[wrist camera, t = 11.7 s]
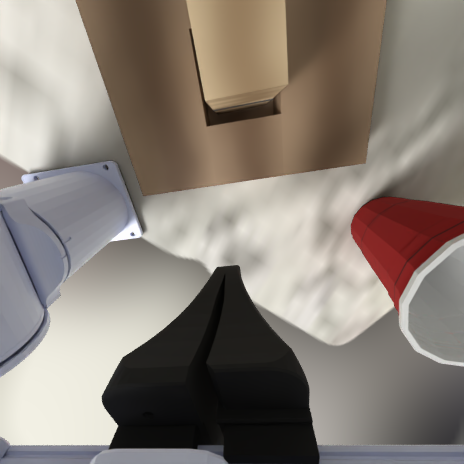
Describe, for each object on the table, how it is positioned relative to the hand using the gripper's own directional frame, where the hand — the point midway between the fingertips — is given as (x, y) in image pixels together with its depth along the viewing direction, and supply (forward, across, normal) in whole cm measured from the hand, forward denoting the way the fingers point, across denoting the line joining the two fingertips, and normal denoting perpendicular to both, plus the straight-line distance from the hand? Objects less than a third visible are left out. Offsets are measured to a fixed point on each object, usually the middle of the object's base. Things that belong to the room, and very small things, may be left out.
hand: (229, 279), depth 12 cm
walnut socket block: (+10, -2, -11) cm, 15 cm away
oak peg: (+10, -2, -12) cm, 15 cm away
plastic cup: (+11, -15, +3) cm, 19 cm away
